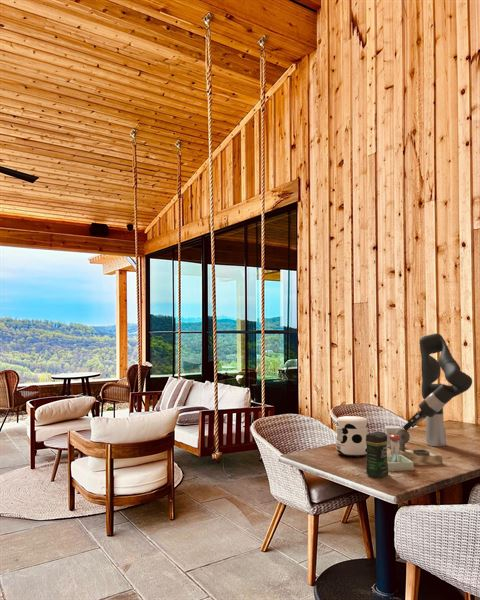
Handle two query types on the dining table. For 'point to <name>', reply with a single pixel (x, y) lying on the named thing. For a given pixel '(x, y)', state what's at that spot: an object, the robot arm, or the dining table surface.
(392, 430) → the small box
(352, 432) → the white printed canister
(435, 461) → the block
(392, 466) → the tray
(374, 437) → the coffee jar
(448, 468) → the dining table surface
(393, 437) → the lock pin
